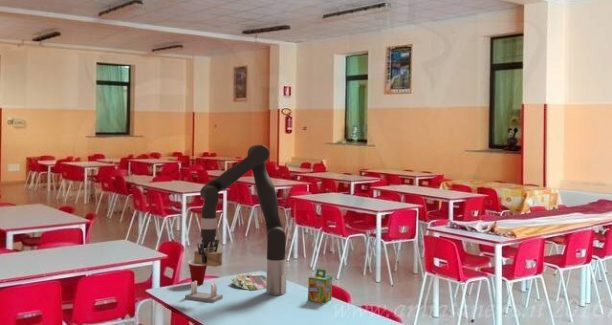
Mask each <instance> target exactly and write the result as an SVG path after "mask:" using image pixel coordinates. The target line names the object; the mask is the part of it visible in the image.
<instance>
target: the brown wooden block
mask: <svg viewBox="0 0 612 325" xmlns="http://www.w3.org/2000/svg"><path fill="white" fill-rule="evenodd" d="M201 252H202V251H201ZM204 253H205V251H204ZM222 254H223V252H219V251H217V252H212V250H211V251H208V252H207V263H206V264H203V263H202V255H199V252H198V250H194V254H193V255H194V256H193V257H194V259H193V260H194V264H200V265H207V267H215V268H217V267H220V266H222V265H223V262H222V261H223V255H222Z"/></svg>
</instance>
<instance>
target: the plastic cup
mask: <svg viewBox="0 0 612 325" xmlns="http://www.w3.org/2000/svg"><path fill="white" fill-rule="evenodd" d="M187 264H188V268H189V273H190V279H191V282H194V281H197V286H202V285H203V284H204V281H205V276H206V272H207V267H208V266H207V265H200V264H194V259H191V260H188V261H187Z"/></svg>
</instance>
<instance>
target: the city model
mask: <svg viewBox="0 0 612 325" xmlns="http://www.w3.org/2000/svg"><path fill="white" fill-rule="evenodd" d="M266 279H267V275H264V274H259V273H253V272H252V273H241V274H237V275H235V276H234V277H232V279H231V282H232V284H233V285H235V286H237V287H238V288H241V289H244V290H249V291H256V290H257V291H258V290H262V289H266Z"/></svg>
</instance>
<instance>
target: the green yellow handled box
mask: <svg viewBox="0 0 612 325" xmlns="http://www.w3.org/2000/svg"><path fill="white" fill-rule="evenodd" d="M320 273H322V274H320ZM326 274H327V271H326V269H320V268H317V269H316V273H315V274H313V275H311V276H309V277H308V287H307V288H308V289H307V301H308V302H312V301H313V302H314V303H320V304H326V303H327V302H329V301H330V300H332V297H333V296H332V295H333V294H332V291H333V276H331V275H326Z"/></svg>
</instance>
